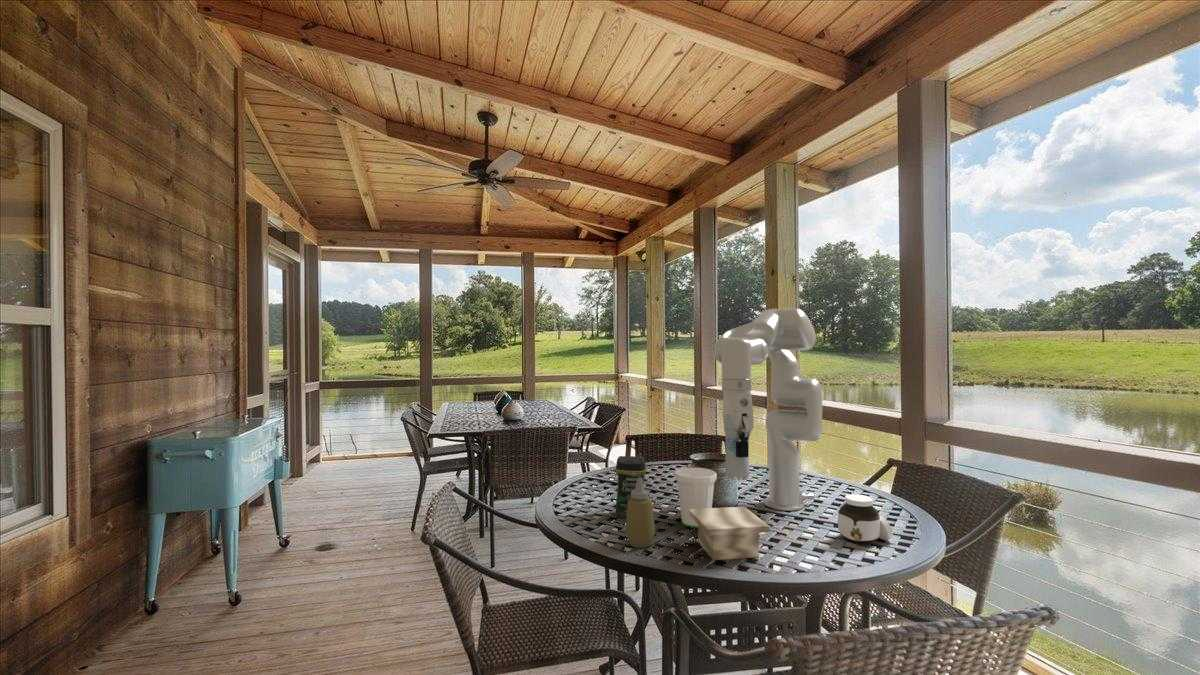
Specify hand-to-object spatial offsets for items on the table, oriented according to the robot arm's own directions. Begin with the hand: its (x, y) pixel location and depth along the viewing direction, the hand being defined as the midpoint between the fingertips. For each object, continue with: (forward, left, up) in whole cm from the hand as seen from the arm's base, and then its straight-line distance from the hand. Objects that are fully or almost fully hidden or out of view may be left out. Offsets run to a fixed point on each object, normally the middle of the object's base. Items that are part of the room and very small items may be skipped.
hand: (736, 453), depth 143 cm
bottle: (0, 0, -7) cm, 7 cm away
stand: (+2, -1, -25) cm, 26 cm away
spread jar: (-38, -2, -26) cm, 46 cm away
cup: (+4, -22, -26) cm, 34 cm away
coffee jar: (+22, -32, -26) cm, 47 cm away
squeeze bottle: (+24, -8, -26) cm, 36 cm away
